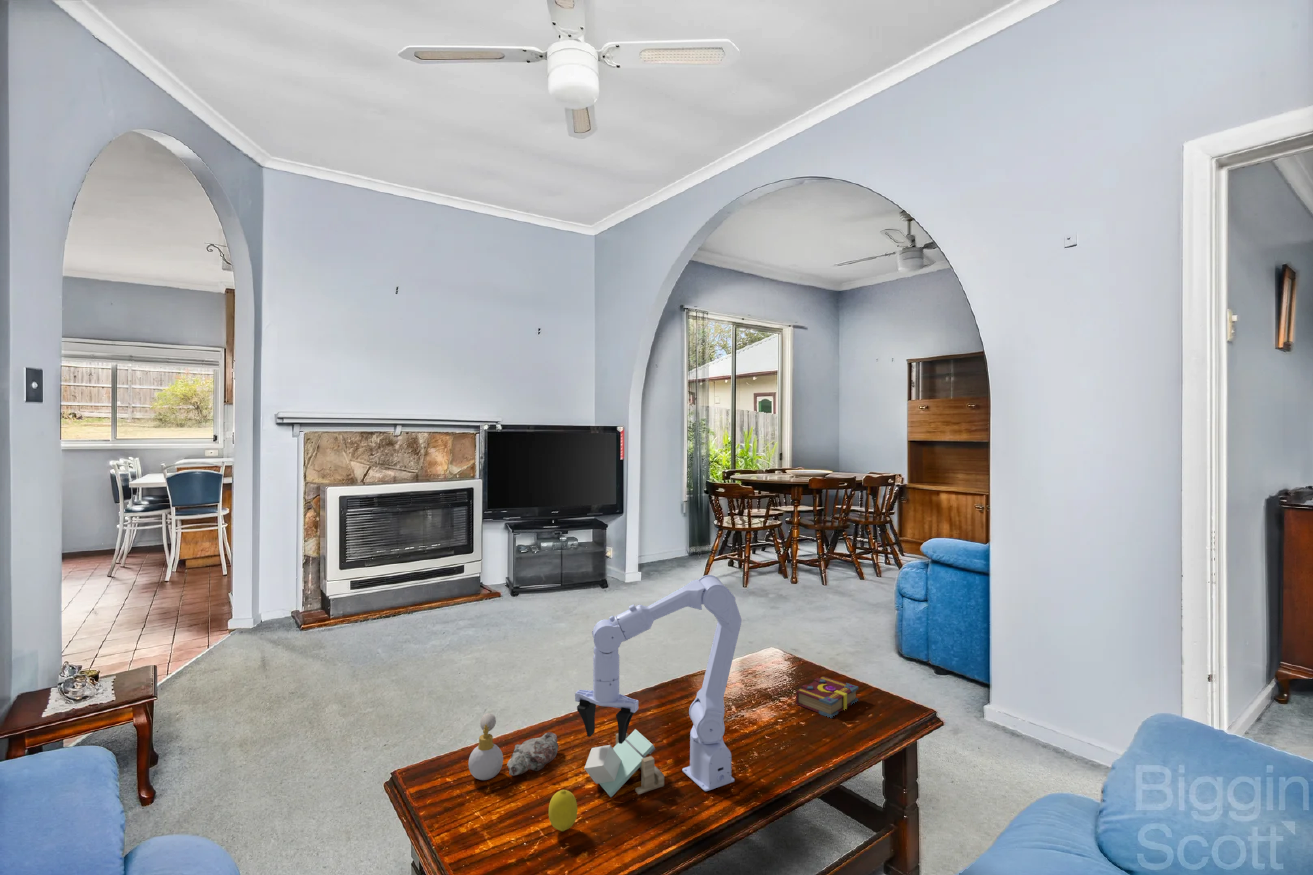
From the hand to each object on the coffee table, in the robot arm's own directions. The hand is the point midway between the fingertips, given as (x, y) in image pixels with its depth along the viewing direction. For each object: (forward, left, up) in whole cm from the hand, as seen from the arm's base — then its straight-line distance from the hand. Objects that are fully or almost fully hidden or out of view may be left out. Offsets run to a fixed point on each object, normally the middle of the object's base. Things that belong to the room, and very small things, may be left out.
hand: (606, 737), depth 137 cm
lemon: (-10, +14, -10) cm, 20 cm away
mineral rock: (+15, +11, -10) cm, 22 cm away
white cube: (0, 0, -8) cm, 8 cm away
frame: (0, -7, -10) cm, 12 cm away
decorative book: (+4, -72, -10) cm, 73 cm away
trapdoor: (0, -5, -7) cm, 9 cm away
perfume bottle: (+17, +22, -10) cm, 30 cm away
